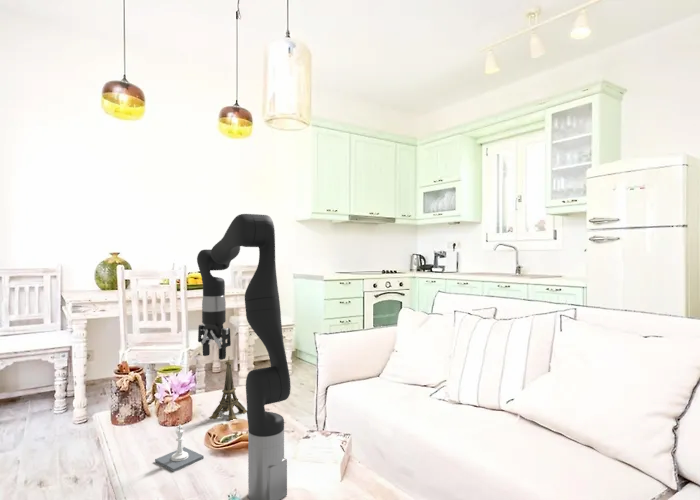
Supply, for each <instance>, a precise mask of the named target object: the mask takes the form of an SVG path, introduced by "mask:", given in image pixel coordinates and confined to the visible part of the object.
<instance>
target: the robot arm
mask: <svg viewBox="0 0 700 500" xmlns="http://www.w3.org/2000/svg"><path fill="white" fill-rule="evenodd" d="M275 231H276V230H275V225H274V221H273V219H272V218H271V216H269V215H267V214H255V213H242V214H241V213H240V214H238V215H236V216H235V217H234V218H233V220H232V221H231V222H230V224H229V226H228V228H227V230H226V231H225V233H224V234H223V237H222V238H221V239H220V240H219V241H218V242H217V243H215V244H214V245H213V246H212V248H211V249H202V250H200V251H199V252H198V253H197V256H196V262H197V263H196V264H197V266H198V270H199V273H200V276H201V281H202V282H201V283H202V300H201V301H202V302H201V317H202V318H201V323H202V324H199V325H198V331H197V332H198V333H197V341H198V343H201V345H202V356H203V357H207V356H210V355H211V353H210V351H211V349H210V346H211V345H210V343H211V341H214V342H215V344H217V346H218V360H220V361H222V360H226V357H227V348H228V347H230V346H231V344H232V343H231V341H232V340H231V329H230V327H226V328H224V324H225V323H226V321H227V320H226V317H227V316H226V315H227V314H226V312H227V311H226V308H227V307H226V296H225V295H226V291H225V290H226V289H225V288H226V285H225V284H226V283H225V279H224V278H222V277H217V276H214V275H212V273H211V271H224V270H227V269H228V268H229V267H230V265H231V262H232V260H234V259H236V258H237V256H238V255H239V253H240V252H241V247H243V248H258V251H259V255H258V256H259V257H258V264H257V267H256V269H255V271H254V274H253V276H252V278H251V280H250V281H249V283H248V285H247V287H246V289H245V292H244V293H245V294H244V305H245V316H246V321H247V322H248V325H249V326H250V327H251V329H252V330H253V332H254V333H255V334H256V335H257V337H258V338H259V340H260V341H261V342H262V343H263V345H264V347H265V348H266V351H267V354H268V357H269V363H270V366H269V367H268V366H267V367H263V368H262V367H261V368H257V369H256V368H255V369H252V370H249V372H248V374H247V375H246V380H245V395H246V410H247V412H246V418H247V428H248V433H247V434H248V435H247V437H248V442H247V443H248V445H247V446H248V447H247V448H248V451H247V452H248V455H247V456H248V461H247V462H248V465H247V466H248V469H247V470H248V472H247V474H248V475H247V476H248V477H247V478H248V482H247V483H248V489H247V490H248V499H249V500H282V499H284V498H285V497H286V496H287V495H288V459H287V458H285V419H284V416H282V415H281V414H279V413H277V412H272V411H266V410H265V409H266V408H265V406H266V405H271V404H275V403H276V404H277V403H280V402H283V401H286V400H287V399H289V397H290V394H291V390H292V389H291V387H292V386H291V385H292V384H291V377H290V369H289V364H288V359H287V356H286V354H287V353H286V350H285V349H286V348H285V343H284V338H283V337H284V335H283V334H284V333H283V328H282V317H281V316H282V314H281V313H282V311H281V304H280V303H281V302H280V295H279V286H278V277H277V267H276V236H275V235H276V233H275Z"/></svg>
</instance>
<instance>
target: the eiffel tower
mask: <svg viewBox="0 0 700 500" xmlns="http://www.w3.org/2000/svg"><path fill="white" fill-rule="evenodd" d="M227 359H228V360H227V361H225V363H224V365H225V366H226V370H225V379H224V387H223V388H224V389H222V396H221V399H220V401H219V403H218V406H216V408H215V409H214V411H213V412H212V414H211V416H209V417H208V419H213V420H215V419H217V418H219V417H220V413H221V412H228V418H227V419H226V421H229V422H231V421H230V420H233V419H236V420H238V417H237V416H236V414H235V411H234V409H233V408H234V407H235V408H236V409H237V410H238V412H237V413H238V414H247V409H246V408H245V406H244V405H243V404H242V403H241V402H240V401H239V398H238V397H237V395H236V391H235V390H236V389H237V388H236V387H234V379H233V369H232V364H233V360H230V357H228V358H227Z"/></svg>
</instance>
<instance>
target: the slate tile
mask: <svg viewBox="0 0 700 500" xmlns="http://www.w3.org/2000/svg"><path fill="white" fill-rule="evenodd" d="M182 448H183V451H184V452H187V453H188V458H187V459H185V460H183V461H172V460H171V458H172V455H173V454H174V453H176V452H177V449H176V450H173V451H172V452H169V453H167V454H165V455H162V456H159V457H157V458H154V462H155V463H157V464H159V465H160V466H162V467H164V468H165V469H167V470H169V471H172V472H174V473H175V472H176V471H180V470H181V469H184V468H185V467H188V466H190V465H192V464H194V463H196V462H199V461H201V460H203V459H204V458H205V457H204V455H202V454H200V453H198V452H197V451H194V450H192V449H190V448H188V447H185V446H184V447H182Z"/></svg>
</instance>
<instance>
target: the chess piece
mask: <svg viewBox="0 0 700 500" xmlns="http://www.w3.org/2000/svg"><path fill="white" fill-rule="evenodd" d="M176 429H178V430H177V431H176V435H177V438H176V440H175V441H176V442H177V449H176V450H177V452H176V453H174V454H173V455H172V458H171V460H172V461H183V460H185V459H187V458H188V453H187V452H184V451H183V448H184V447H183V443H182V441H184V439H185V438H184V437H183V435H184V427H183V426H182V424H178V426H177V427H176Z"/></svg>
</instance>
